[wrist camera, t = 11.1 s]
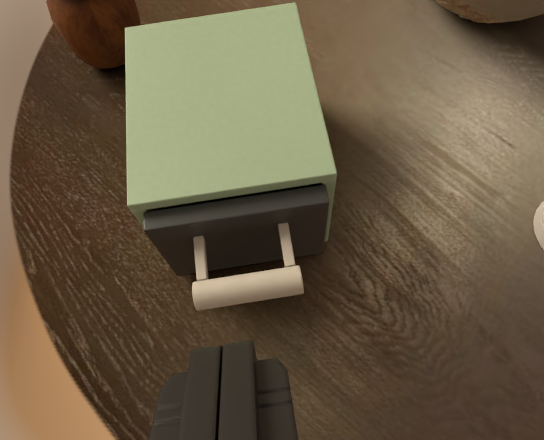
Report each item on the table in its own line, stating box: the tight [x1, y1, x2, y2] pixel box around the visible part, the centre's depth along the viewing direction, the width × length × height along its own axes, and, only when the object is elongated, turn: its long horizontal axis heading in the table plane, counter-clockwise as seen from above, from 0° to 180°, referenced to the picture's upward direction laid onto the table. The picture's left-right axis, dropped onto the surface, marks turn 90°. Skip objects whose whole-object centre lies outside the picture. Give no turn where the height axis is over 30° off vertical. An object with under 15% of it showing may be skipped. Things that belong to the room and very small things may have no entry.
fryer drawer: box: [143, 185, 330, 310], centre depth 31 cm, size 17×10×8 cm, turn 8°
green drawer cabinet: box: [125, 3, 337, 242], centre depth 33 cm, size 14×12×10 cm
